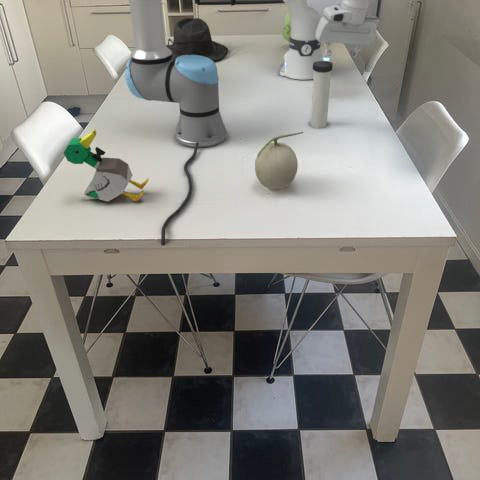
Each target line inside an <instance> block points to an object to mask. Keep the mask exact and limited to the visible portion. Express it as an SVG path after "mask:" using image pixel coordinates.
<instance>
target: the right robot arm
mask: <svg viewBox="0 0 480 480" xmlns="http://www.w3.org/2000/svg"><path fill="white" fill-rule="evenodd" d="M282 2H283V3H285V6H286V7H287V10H288V9H289V12H290V18H291V37H290V40H289V42H288V43H289V44H288V47H289V48H288V50H287V51H286V52H285V54H283V55H282V56H283V58H282V59H283V61H284V62H283V64H282V67H281V68H280V71H279V76H282V77H286V78H289V79H293V80H298V81H299V80H301V81H302V80H305V81H306V80H307V81H308V80H309V81H310V80H313V77H314V70H313V63H314V62H317V61H328V62H330V58H329V57H330V56H331V54H332V52H333V51H332V50H331V48H329V47H330V46H331V44H339V45H353V46H354V45H355V47H354V49H353V50H352V49H351V50H350V53H349V56H350V57H351V58H356V57H357V55H358V53H359V52H360V51H361V50H362V49H363V46H372V45H373V44H374V43H375V39H376V36H377V28H378V27H379V24H380V19H379V17H377V15H369V14H367V12H368V9H369V3H370V0H340V3H338V4H335V5H331V6H328V7H327V6H326V7H325V8H324V9H323V12H322V13H323V15H324V16H321V14H320V12H319V11H318V10H317V9H315V8H313V7H312V6H309V5H308V2H307V0H282ZM322 44H323V45H324V49H325V50H324V52H323V51H322V49H321V46H322Z"/></svg>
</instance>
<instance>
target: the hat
mask: <svg viewBox="0 0 480 480" xmlns="http://www.w3.org/2000/svg"><path fill="white" fill-rule="evenodd" d="M170 42H171V43H172V44H170ZM166 47H168V48H169V49H170V50H171V51H172V59H173V60H174V61H176V58H177V57H179V56H182V55H200V56H204V57H207V58H209V59H211V60H212V61H219V60H221V59H222V58H223V57H225V55H226V53H227V52H228V51H229V48H228V47H227V46H226V45H223V44H222V43H219V42H217V41H214V40H213V39H212V35H211V31H210V28H209V25H208V24H207V22H206V21H205V20H204V19H201V18H199V17H195V18H194V17H185V18H181V19H180V20H178V21H176V23H175V25H174V27H173V40H172V39H171V38H168V39H167V44H166Z"/></svg>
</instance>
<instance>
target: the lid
mask: <svg viewBox="0 0 480 480" xmlns="http://www.w3.org/2000/svg"><path fill="white" fill-rule="evenodd" d="M333 69H334V64H333V62H331V61H326V60H324V61H317V62H314V63H313V70H314V71H317V72H329V71H331V72H332V71H333Z"/></svg>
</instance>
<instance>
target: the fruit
mask: <svg viewBox="0 0 480 480" xmlns="http://www.w3.org/2000/svg"><path fill="white" fill-rule="evenodd" d="M301 134H304V131H300V132H295V133H289V134H283V135H282V134H281V135H278V136H274V137H273V138H271V139H270V140H269V141H268V142H266V144H265V145H264V146H262V147H261V148H260V150H259V151H258V153H257V154H256V158H255V159H254V160H255V161H254V171H255V175H256V179H257V180H258V182H259V183H260V184H261V185H262V186H264V187H265V188H267V189H268V190H274V191H276V190H282V189H285V188H287V187H288V186H290V185H291V184H292V182H293V181H294V180H295V178H296V176H297V173H298V167H299V166H298V158H297V155H296V153H295V150H294V149H293V148H292V147H291V146H290V145H288V144H286V143H284V142H281V141H280V142H279V140H281V139H283V138H287V137H293V136H296V135H301Z"/></svg>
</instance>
